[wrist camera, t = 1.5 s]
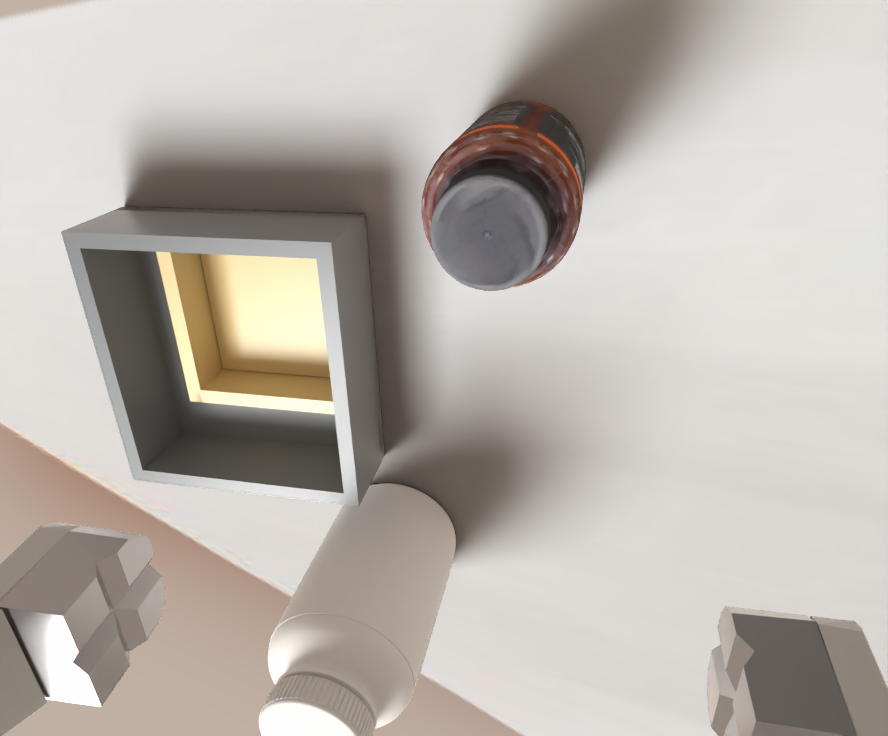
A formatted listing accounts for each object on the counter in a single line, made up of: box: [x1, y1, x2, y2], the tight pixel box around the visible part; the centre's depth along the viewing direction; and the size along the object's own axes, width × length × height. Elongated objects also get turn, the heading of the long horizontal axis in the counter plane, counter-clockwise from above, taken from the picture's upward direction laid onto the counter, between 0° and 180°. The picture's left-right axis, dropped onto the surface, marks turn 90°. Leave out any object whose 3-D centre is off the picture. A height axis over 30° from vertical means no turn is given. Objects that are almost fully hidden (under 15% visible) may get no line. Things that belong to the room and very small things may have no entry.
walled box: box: [61, 206, 385, 507], centre depth 37 cm, size 15×14×5 cm
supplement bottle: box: [422, 101, 585, 291], centre depth 27 cm, size 6×6×11 cm
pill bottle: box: [259, 483, 456, 736], centre depth 38 cm, size 8×8×15 cm
